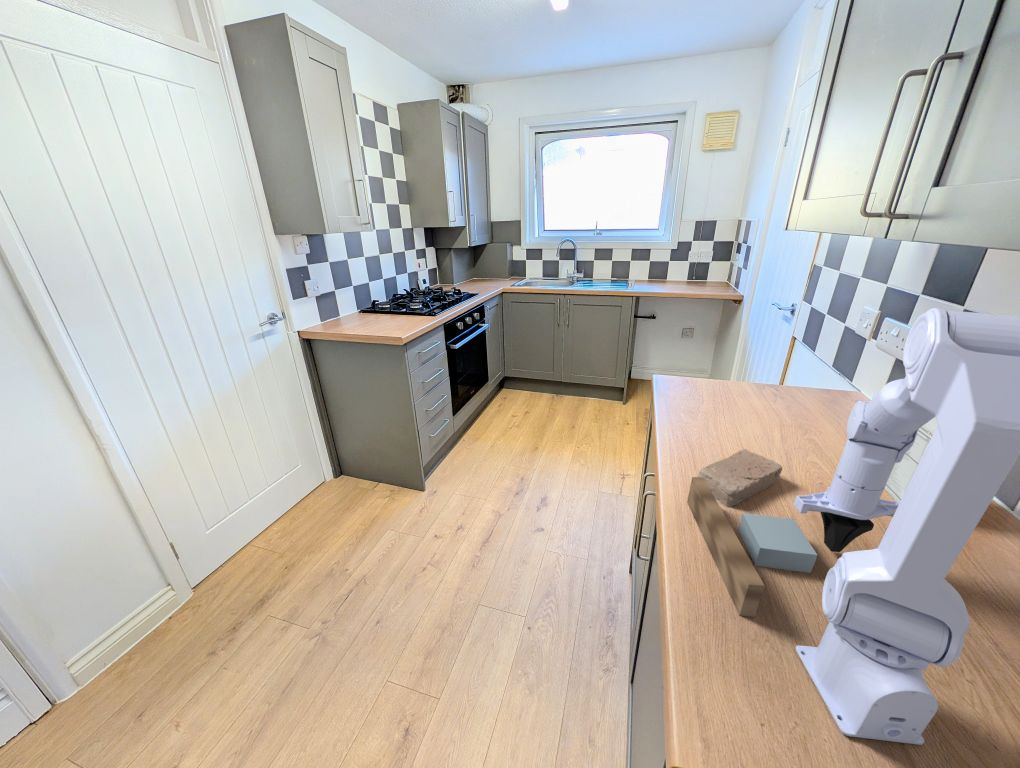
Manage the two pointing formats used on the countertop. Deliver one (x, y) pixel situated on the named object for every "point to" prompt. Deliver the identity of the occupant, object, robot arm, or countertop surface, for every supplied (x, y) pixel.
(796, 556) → the grey block
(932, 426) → the supplement box
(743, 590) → the fence board
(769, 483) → the brick
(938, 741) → the countertop surface
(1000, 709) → the countertop surface
